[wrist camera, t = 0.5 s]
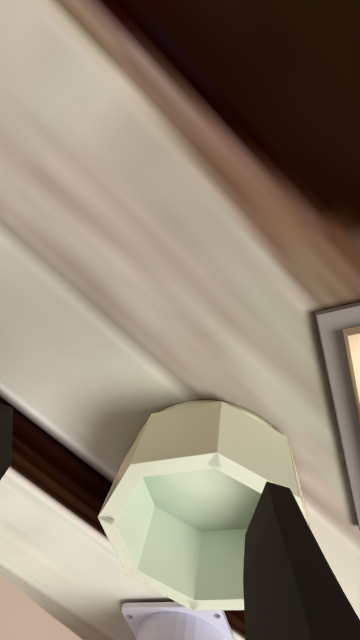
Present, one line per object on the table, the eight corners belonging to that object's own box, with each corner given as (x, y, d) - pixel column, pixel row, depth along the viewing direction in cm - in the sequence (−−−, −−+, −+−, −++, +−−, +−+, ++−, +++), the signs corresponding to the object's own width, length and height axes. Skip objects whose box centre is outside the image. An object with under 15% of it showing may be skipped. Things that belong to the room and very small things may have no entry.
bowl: (310, 524, 21) (329, 608, 16) (161, 535, 23) (143, 611, 19) (275, 385, 18) (286, 442, 14) (109, 415, 20) (75, 471, 16)
